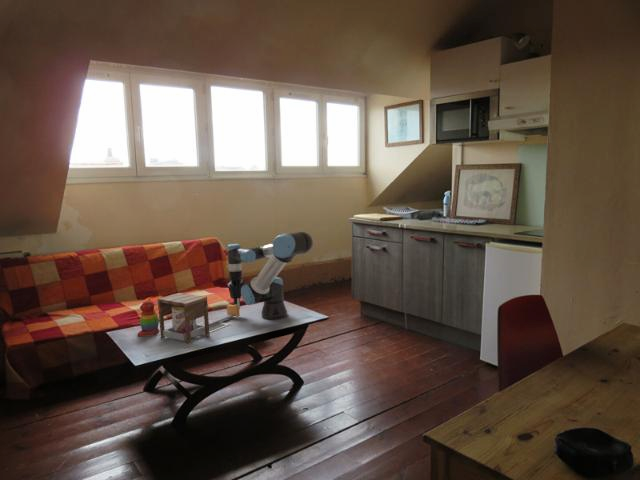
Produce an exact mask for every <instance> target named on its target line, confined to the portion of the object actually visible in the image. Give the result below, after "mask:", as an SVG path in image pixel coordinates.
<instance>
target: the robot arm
mask: <svg viewBox="0 0 640 480" xmlns="http://www.w3.org/2000/svg"><path fill="white" fill-rule="evenodd" d="M313 245H314V239H313V237H312V236H311V235H310V233H307V232H306V231H305V232H304V231H298V232H297V231H296V232H293V233H292V232H291V233H282V234H279V235H277V236H276V237H275V238H274V239H273V241H272V243H268V244H265V245H260V246H256V247H255V246H254V247H249V248H241V247H242V246H241V244H240V243H229V244H228V245H227V250H226V251H227V261H228V263H227V264H228V270H229V271H228V276H229V277H228V278H230V279H229V283H226V286H227V288H228V293H229V296H230V298H231V299H233V305H236V306H239V310H240V309H241V305H240V303H241V299H242V301H243V303H245V304H246V305H248V306H252V305H256V304H260V303H263V305H262V309H261V318H263V319H264V320H280V319H283V318H286V317H287V316H288V310H287V307H286V305H285V299H284V281H283V278H281V277H279V276H278V275H279V274H280V273H281V271H282V270H283V268H284V267H285V266H286V265H287V264H289V263H291V262H292V261H293V260H294V259H295V257H297V256H299V255H300V256H301V255H303V254H307V253H308V252H310V251H311V250H312V248H313ZM264 259H268V260H267V262H266V263H265V265H264V266H263V267H262V268H261V270H260V272H259V273H258V275H257V276H255V277H254V276H253V278H251V280H250V281H249V283H247V284H245V279H243V278H242V276H243V270H242V269H243V268H242V267H243V266H242V263H245V264H246V263H247V264H248V263H249V264H251V263H254V262H255V261H258V260H264Z"/></svg>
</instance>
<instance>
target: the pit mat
mask: <svg viewBox="0 0 640 480" xmlns="http://www.w3.org/2000/svg"><path fill="white" fill-rule="evenodd" d="M210 321H211V320H210V319H209V322H210ZM197 324H198V325H202V324H205V323H204V322H202V323H197ZM230 325H231V324H230V323H226V322H222V321H221V322H218V323H215V324H213V325H210V326H209V334H211V333H214V332H217V331H219V330H221V329H223V328H225V327H229V326H230Z"/></svg>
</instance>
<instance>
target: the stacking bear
mask: <svg viewBox="0 0 640 480" xmlns="http://www.w3.org/2000/svg"><path fill="white" fill-rule="evenodd" d="M155 305H156V304H155V302H154V301H152V300H151V299H148V300H145V301H143V302H142V303H141V305H139V309H140V311H141V314H140V319H139V324H140V325H139V326H140V328H141V330H140V331H138V333H137V335H138V336H137V337H147V335H150V336H154V335H157V334H158V333H160V328H159V325H160V321H159V314H158V313H157V312H156V311H155Z"/></svg>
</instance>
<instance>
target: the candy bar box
mask: <svg viewBox="0 0 640 480" xmlns="http://www.w3.org/2000/svg"><path fill="white" fill-rule="evenodd" d="M171 311H172V314H171V321H172V324H171V325H172V327H173V332H177V333H181V334H185V333H186V326H185V312H184V306H180V305H174V306H172V307H171ZM196 324H197V319H194V320H191V321H190V331H193V330H195V329H196ZM192 338H195V337H192Z"/></svg>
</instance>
